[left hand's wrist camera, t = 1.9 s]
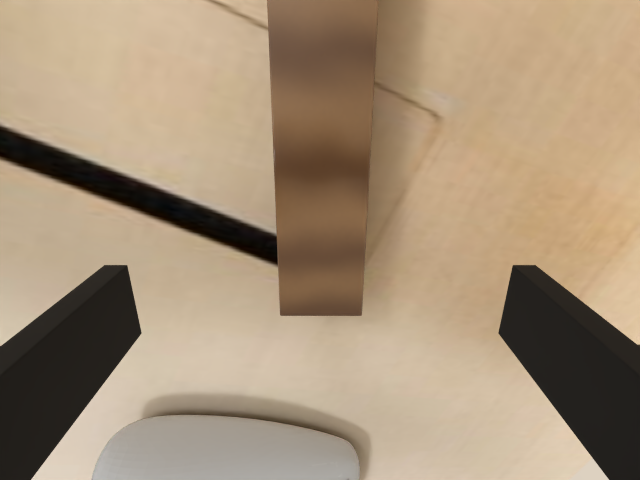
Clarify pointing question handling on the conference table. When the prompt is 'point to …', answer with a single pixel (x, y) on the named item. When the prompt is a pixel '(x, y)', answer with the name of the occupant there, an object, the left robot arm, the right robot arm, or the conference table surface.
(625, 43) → the conference table surface
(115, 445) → the projector
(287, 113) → the beam
